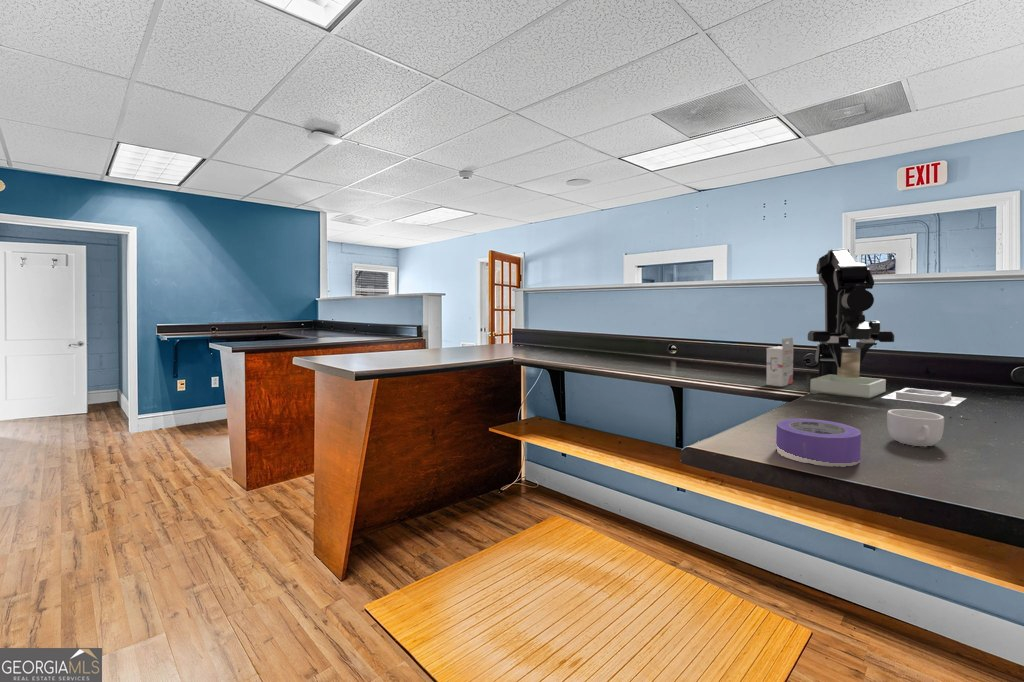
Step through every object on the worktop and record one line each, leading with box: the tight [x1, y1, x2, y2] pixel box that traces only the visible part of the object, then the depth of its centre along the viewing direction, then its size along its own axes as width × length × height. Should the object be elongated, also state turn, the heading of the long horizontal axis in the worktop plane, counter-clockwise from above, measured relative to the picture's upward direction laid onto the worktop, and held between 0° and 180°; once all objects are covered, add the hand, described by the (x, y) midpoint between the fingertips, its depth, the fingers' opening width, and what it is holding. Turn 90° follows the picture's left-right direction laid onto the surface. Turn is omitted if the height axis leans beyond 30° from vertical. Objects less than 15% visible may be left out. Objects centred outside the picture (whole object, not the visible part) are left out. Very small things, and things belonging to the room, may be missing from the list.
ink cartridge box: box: [765, 336, 795, 388], centre depth 145 cm, size 9×5×15 cm, turn 129°
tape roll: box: [775, 418, 862, 463], centre depth 77 cm, size 12×12×5 cm
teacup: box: [886, 408, 945, 447], centre depth 82 cm, size 10×8×5 cm
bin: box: [809, 374, 887, 399], centre depth 129 cm, size 14×14×4 cm
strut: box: [837, 346, 861, 378], centre depth 128 cm, size 4×4×8 cm
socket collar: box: [880, 387, 967, 407], centre depth 118 cm, size 14×14×2 cm
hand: (848, 367), depth 128 cm, fingers closed on strut, 4 cm apart
